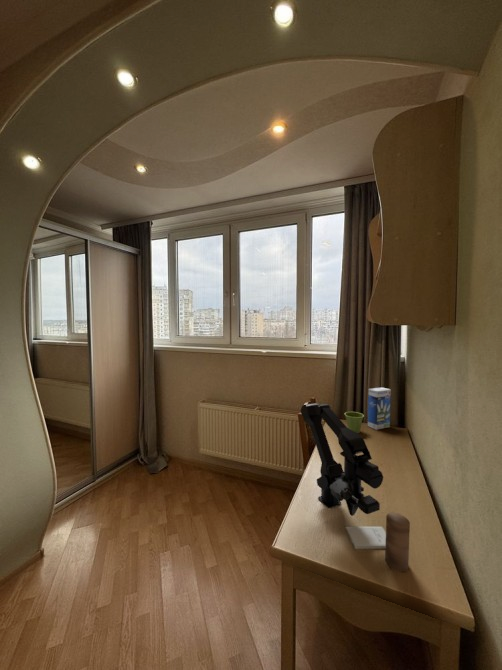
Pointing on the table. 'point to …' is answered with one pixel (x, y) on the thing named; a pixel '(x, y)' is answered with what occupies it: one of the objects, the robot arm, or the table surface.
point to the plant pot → (354, 421)
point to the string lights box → (379, 408)
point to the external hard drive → (367, 537)
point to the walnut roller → (397, 541)
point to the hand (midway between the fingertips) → (351, 515)
